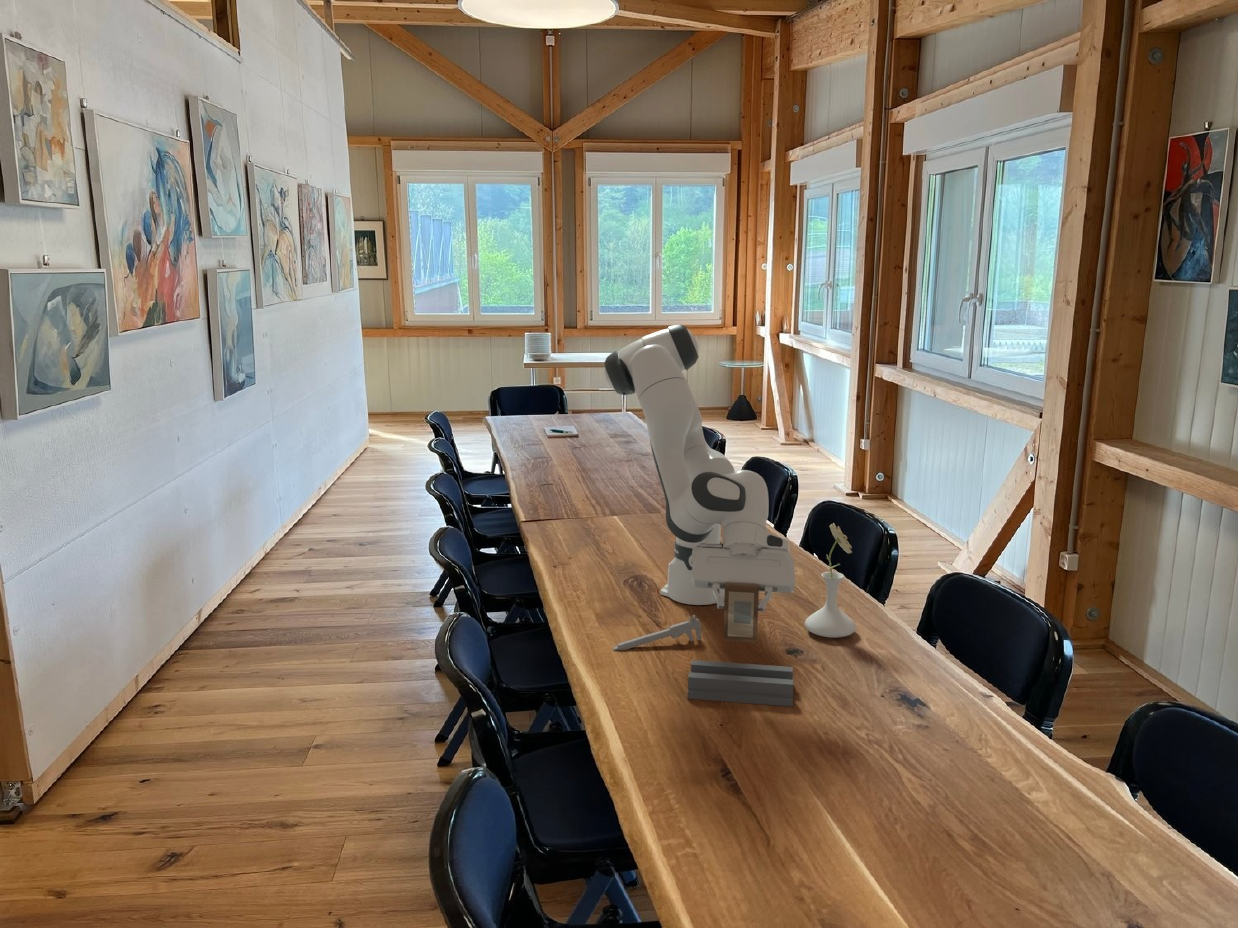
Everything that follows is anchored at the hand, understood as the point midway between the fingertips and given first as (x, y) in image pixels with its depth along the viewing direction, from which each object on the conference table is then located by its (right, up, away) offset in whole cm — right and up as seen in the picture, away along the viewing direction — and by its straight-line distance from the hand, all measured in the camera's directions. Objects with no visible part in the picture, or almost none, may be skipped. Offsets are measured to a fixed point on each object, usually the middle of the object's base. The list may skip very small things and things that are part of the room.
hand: (741, 608), depth 173 cm
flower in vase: (+25, -11, +34) cm, 43 cm away
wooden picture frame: (0, -6, +2) cm, 6 cm away
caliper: (-15, -13, +27) cm, 33 cm away
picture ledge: (0, -17, +4) cm, 17 cm away
